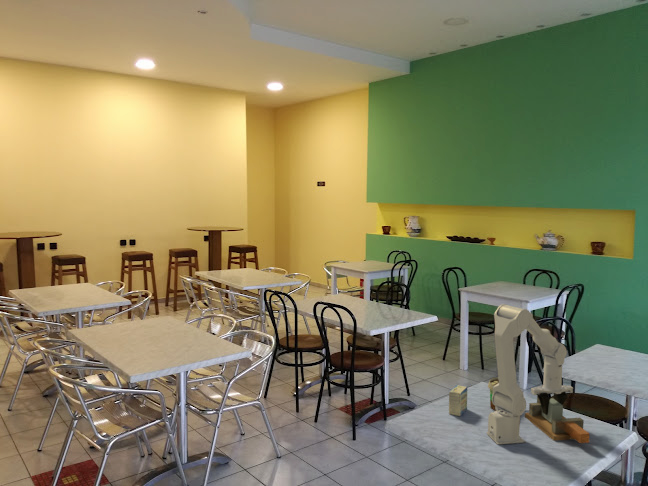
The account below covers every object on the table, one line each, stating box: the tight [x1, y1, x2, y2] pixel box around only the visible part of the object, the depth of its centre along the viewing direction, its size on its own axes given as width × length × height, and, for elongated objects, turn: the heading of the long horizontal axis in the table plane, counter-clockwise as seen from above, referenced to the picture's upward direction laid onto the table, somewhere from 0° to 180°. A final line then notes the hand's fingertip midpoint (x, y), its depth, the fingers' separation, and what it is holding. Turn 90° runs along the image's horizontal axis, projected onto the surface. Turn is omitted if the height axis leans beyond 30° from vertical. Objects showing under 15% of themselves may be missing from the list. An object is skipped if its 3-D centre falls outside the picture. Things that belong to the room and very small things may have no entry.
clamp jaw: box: [552, 417, 590, 444], centre depth 167 cm, size 10×10×4 cm
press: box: [524, 394, 575, 441], centre depth 178 cm, size 12×18×10 cm, turn 8°
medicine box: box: [448, 384, 468, 417], centre depth 191 cm, size 8×4×9 cm, turn 147°
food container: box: [487, 377, 499, 412], centre depth 195 cm, size 12×6×10 cm, turn 145°
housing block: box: [542, 397, 564, 423], centre depth 180 cm, size 4×6×6 cm, turn 8°
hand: (551, 413), depth 180 cm, fingers closed on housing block, 4 cm apart
